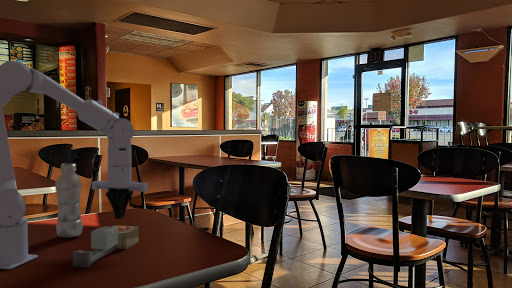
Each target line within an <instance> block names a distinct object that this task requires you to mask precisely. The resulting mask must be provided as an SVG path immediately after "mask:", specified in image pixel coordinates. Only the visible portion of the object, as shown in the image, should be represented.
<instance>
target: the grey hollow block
mask: <svg viewBox="0 0 512 288" xmlns="http://www.w3.org/2000/svg"><path fill="white" fill-rule="evenodd" d="M116 226H119V225H116V224H115V225H111V227H116ZM125 226H126V230H125V231H124V232H121V231H118V248H117V249H123V250H124V249H125V250H128V249H129V248H131V247H133V246H134V245H136V244H137V243H139V242H140V241H139V239H140V238H139V237H140V236H139V235H140V234H139V226H132V225H131V226H130V225H125Z"/></svg>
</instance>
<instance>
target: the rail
mask: <svg viewBox="0 0 512 288" xmlns="http://www.w3.org/2000/svg"><path fill="white" fill-rule="evenodd" d="M117 249H119V248H118V244H116V245H115V246H113V247H111V248H109V249H107V250H102V249H93V250H92V251H91V250H89V251H88V250H79V249H78V250H76V249H75V250H74V251H73V252H72V266H73V267H79V268H90V267H91V266H92V264H93V263H94V262H96V261H98V260H99V259H101V258H103V257H105V256H107V255H109V254H110V253H113V252H114V251H115V250H117Z"/></svg>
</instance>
